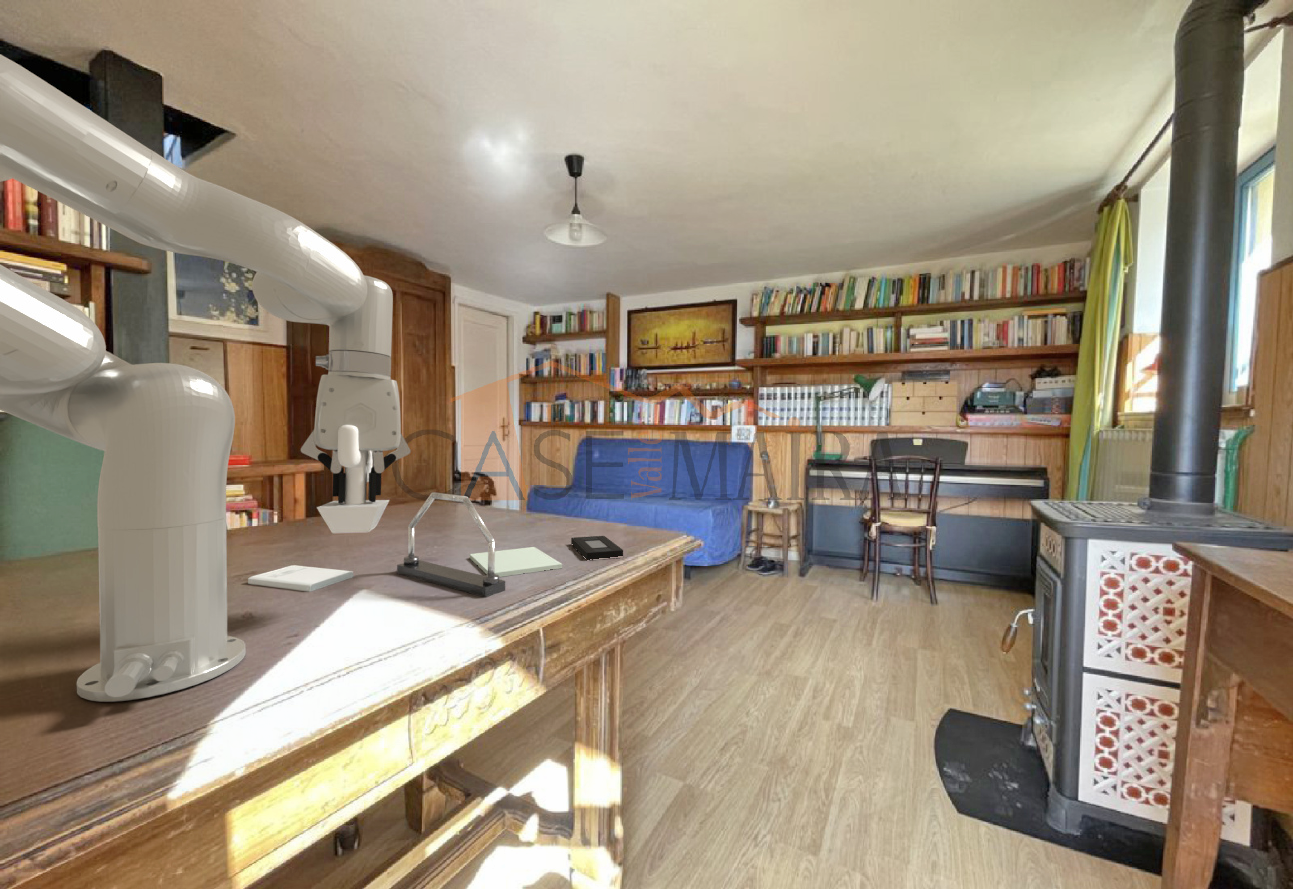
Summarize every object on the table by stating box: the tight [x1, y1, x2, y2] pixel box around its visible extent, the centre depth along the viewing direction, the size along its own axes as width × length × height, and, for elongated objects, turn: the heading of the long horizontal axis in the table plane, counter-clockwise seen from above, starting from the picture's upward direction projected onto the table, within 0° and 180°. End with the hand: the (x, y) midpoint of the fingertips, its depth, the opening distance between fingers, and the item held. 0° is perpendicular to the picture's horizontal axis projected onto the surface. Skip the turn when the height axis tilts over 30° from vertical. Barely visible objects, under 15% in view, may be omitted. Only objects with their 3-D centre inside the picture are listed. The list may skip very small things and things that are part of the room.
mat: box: [469, 546, 563, 578], centre depth 96 cm, size 15×13×1 cm
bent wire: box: [396, 492, 506, 598], centre depth 84 cm, size 22×4×14 cm, turn 59°
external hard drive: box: [247, 564, 354, 592], centre depth 84 cm, size 2×8×12 cm
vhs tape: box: [570, 535, 624, 561], centre depth 107 cm, size 8×14×2 cm, turn 21°
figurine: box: [316, 425, 390, 534], centre depth 70 cm, size 7×9×15 cm
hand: (356, 500), depth 70 cm, fingers closed on figurine, 3 cm apart
